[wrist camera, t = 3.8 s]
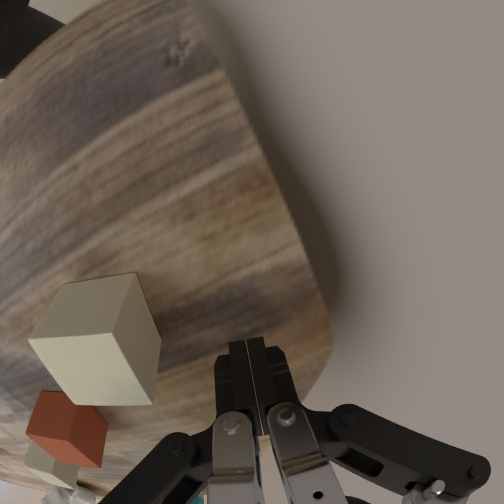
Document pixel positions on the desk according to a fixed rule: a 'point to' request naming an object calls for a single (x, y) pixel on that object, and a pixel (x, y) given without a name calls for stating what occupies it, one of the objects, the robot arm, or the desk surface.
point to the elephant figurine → (69, 496)
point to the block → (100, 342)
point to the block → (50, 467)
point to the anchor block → (68, 430)
